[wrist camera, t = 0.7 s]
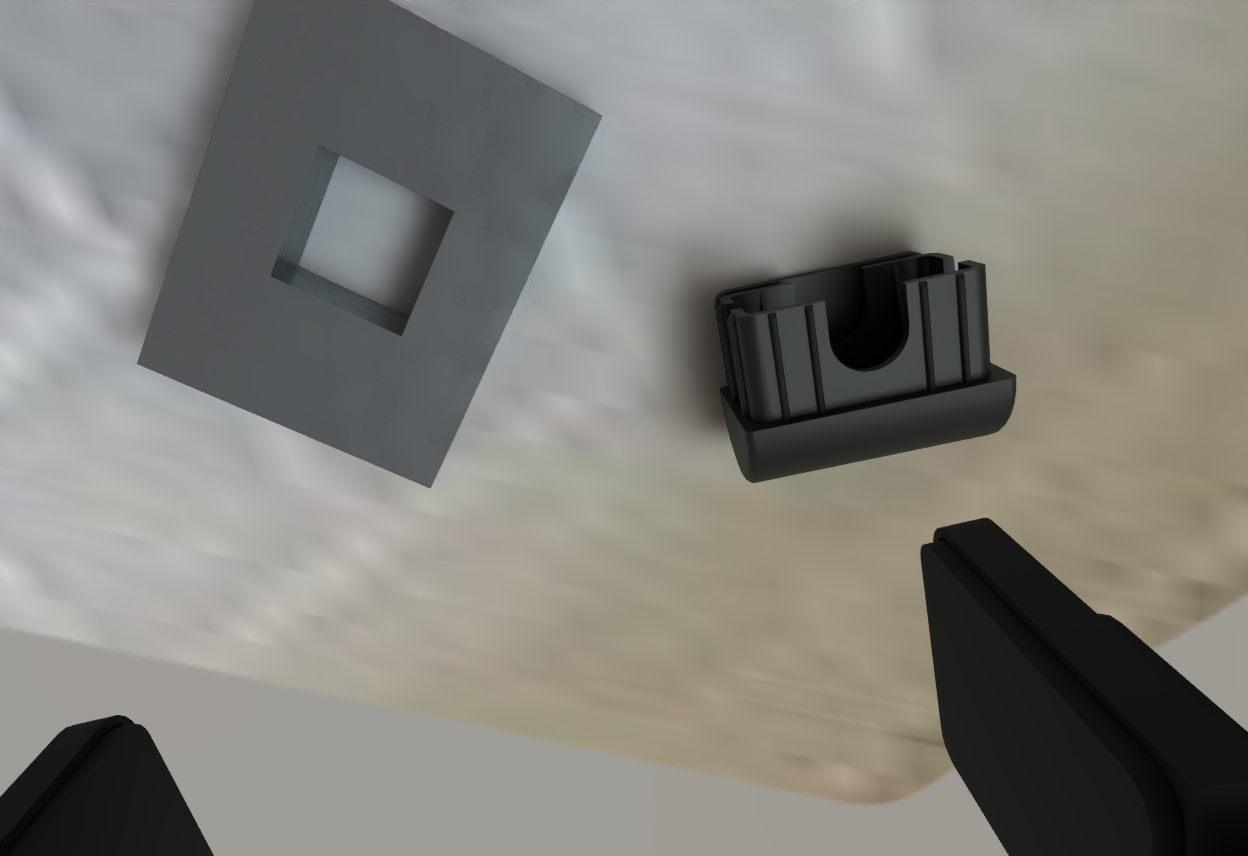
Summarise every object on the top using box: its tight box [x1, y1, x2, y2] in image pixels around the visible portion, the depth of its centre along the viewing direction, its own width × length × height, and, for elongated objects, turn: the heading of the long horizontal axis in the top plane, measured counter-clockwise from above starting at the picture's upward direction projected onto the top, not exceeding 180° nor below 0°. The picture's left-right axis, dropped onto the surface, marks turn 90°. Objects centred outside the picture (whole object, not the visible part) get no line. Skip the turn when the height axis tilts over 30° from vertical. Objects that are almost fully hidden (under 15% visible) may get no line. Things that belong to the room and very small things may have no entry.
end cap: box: [715, 252, 1016, 483], centre depth 31 cm, size 10×7×7 cm
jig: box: [137, 0, 602, 488], centre depth 31 cm, size 16×12×3 cm
